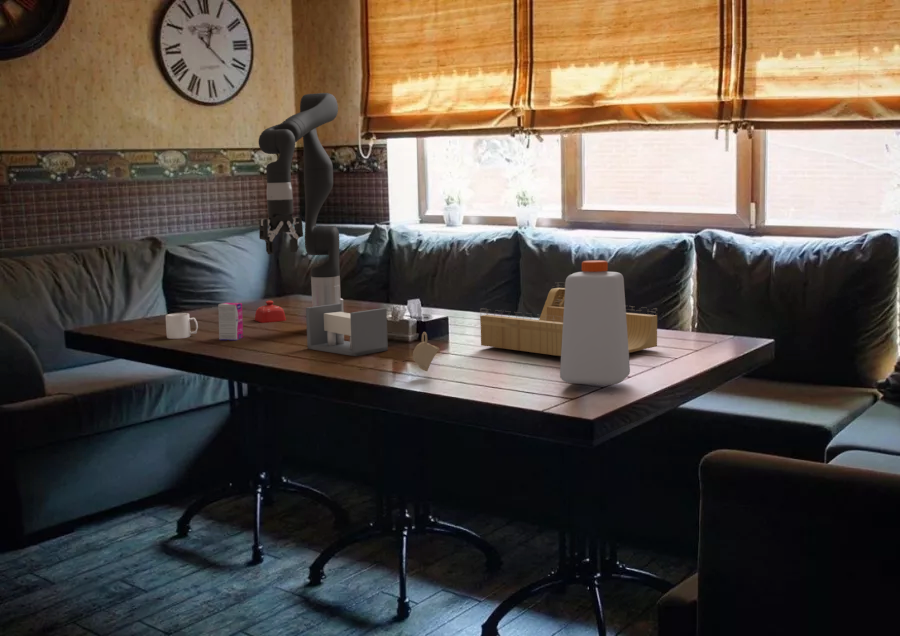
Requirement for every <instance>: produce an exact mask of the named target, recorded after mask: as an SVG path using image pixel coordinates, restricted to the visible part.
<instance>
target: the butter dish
mask: <svg viewBox="0 0 900 636" xmlns="http://www.w3.org/2000/svg"><path fill="white" fill-rule="evenodd" d="M265 303H266V305H261V306H259V307H258V308H257V309H256V311H255V316H254V321H255V322H259V323H261V324H266V323H267V324H268V323H277V322H286V321H287V319H286V318H287V317H286V313H285V311H284V308H283V307H281V306H279V305H275V304H274V301H273V300H270V299H269V300H266V301H265Z"/></svg>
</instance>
